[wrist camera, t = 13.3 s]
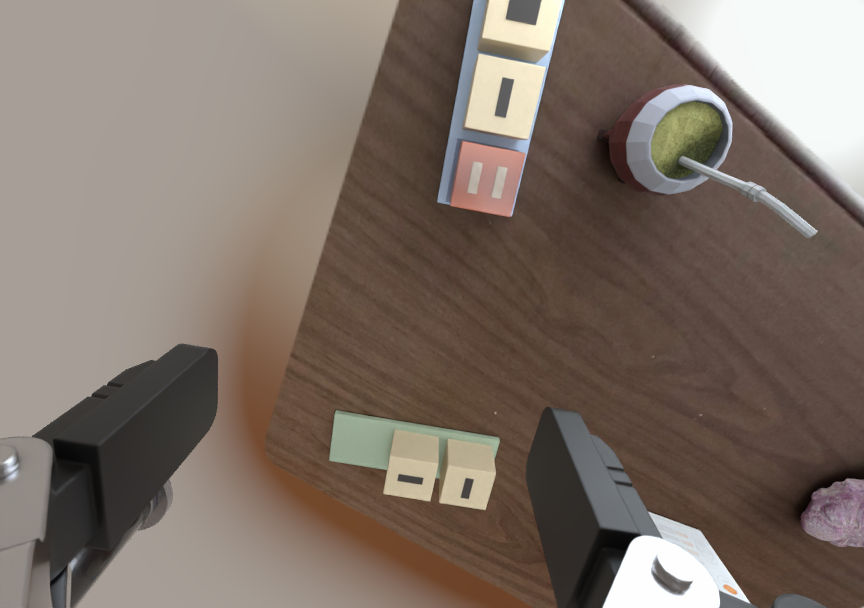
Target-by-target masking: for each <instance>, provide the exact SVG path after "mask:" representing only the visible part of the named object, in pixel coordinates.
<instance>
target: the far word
mask: <svg viewBox="0 0 864 608" xmlns="http://www.w3.org/2000/svg"><path fill="white" fill-rule="evenodd" d="M499 442H500V440H499V437H493V436H487V435H481V434H475V433H469V432H463V431H457V430H451V429H445V428H439V427H433V426H427V425H421V424H415V423H409V422H403V421H397V420H391V419H385V418H379V417H373V416H367V415H361V414H355V413H349V412H343V411H337V410H336V412H335V416H334V424H333V433H332V441H331V449H330V457H329V461H334V462H340V463H347V464H353V465H359V466H365V467H371V468H378V469H384V470H387V474H386V480H385V486H384V492H383V494H388V495H394V496H400V497H406V498H413V499H419V500H425V501H430V499H431V494H432V490H433V486H434V482H435V478H439V503H445V504H451V505H457V506H463V507H470V508H476V509H482V510H485V509H486V506H487V502H488V499H489V496H490V492H491V489H492V485H493V482H494V479H495V475H496V470H495V464H494V459H495V456H496V452H497V449H498V445H499Z"/></svg>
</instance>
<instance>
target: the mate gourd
mask: <svg viewBox="0 0 864 608" xmlns="http://www.w3.org/2000/svg"><path fill="white" fill-rule="evenodd" d="M597 139H598V140H600V141H603V142H608V143H609V149H610V159H611V162H612V164H613V166H614V168H615V170H616V172H617V174H618V176H619V179H618V180H619V181H620V182H621V183H625V184H628V185H629V186H630V187H631V188H633V189H634V190H636V191H638V192H643V193H649V194H654V195H662V196H663V195H668V194H674V193H679V192H684V191H689V190H691V189H692V188H694V187H696V186H697V185H699V184H701V183H702V182H704V181H706V180H707V179H709V178H710V179H713V180H715V181H717V182H720V183H722V184H724V185H726V186H729V187H731V188H733V189H735V190H737V191H740V194H741V195H743V196H745V197H747V198H749V199H751V200H753V201H755V202H756V201H760V202H762V203H763V204H765V205H766V206H767V207H769V208H770V209H772V210H773V211H774V212H776V213H777V214H778V215H779V216H781V217H782V218H783V219H784V220H786V221H787V222H788V223H789V224H791V225H792V226H793V227H794V228H795V229H797V230H798V231H799V232H800V233H802V234H803V235H804V236H805V237H807V238H809V237H811V236H813V235H815V234H816V233H817V230H816V229H814V228H813V227H812V226H811V225H809V224H808V223H807V222H806V221H805V220H803V219H802V218H801V217H800V216H798V215H797V214H796V213H795V212H793V211H792V210H791V209H790V208H788V207H787V206H786V205H785V204H783V203H782V202H780V201H779V200H777V199H776V198H775V197H773V196H772V195H770V194H769V193H767V192H766V191H767V190H766V189H765V188H763V187H761V186H759V185H757V184H754V183H752V182H748V183H746V182H744V181H741V180H739V179H736V178H734V177H731V176H729V175H726V174H724V173H722V172H719V171H717V170H716V169H717V168H718V167H719V166H720V165H721V164H722V162H723V161H724V160H725V157H726V155H727V152H728V150H729V147H730V145H731V142H732V120H731V117H730V115H729V112H728V110H727V108H726V105H725V103H724V102H723V101H722V100H721V99H720V98H719V97H717V96H716V95H715V94H714V93H713V92H712V91H710V90H709V89H705V88H700V87H696V86H691V85H685V84H675V85H671V86H666V87H662V88H657V89H654V90H652V91H650V92H648V93H646V94H645V95H643V96H642V97H640V98H639V99H638V100H636V101H635V102H633V103H632V104H630V105H629V107H628V108H627V109H626V110H625V112H624V113H623V114H622V115H621V116H620V118H619V119H618V120H617V121H616V123H615V125H614V126H613V128H612V129H611V130H609V131H607V130H600V131H599V134H598V137H597Z"/></svg>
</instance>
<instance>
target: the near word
mask: <svg viewBox="0 0 864 608" xmlns="http://www.w3.org/2000/svg"><path fill="white" fill-rule="evenodd" d="M564 1H565V0H474V1H473V6H472V12H471V17H470V23H469V28H468V34H467V39H466V45H465V50H464V56H463V61H462V67H461V72H460V78H459V83H458V89H457V94H456V100H455V105H454V111H453V116H452V122H451V127H450V133H449V138H448V144H447V149H446V155H445V160H444V166H443V171H442V177H441V182H440V187H439V193H438V198H437V202H438V203H443V204H448V205H450V201H449V198H450V193H451V187H452V182H453V177H454V172H455V166H456V161H457V156H458V151H459V145H460V142H461V141H466V142H471V143H476V144H481V145H486V146H491V147H497V148H502V149H507V150H512V151H517V152H522V153H526V155H525V159H524V163H523V168H522V172H521V176H520V180H519V184H518V188H517V192H516V196H515V200H514V205H515V201H516V197H517V193H518V189H519V185H520V181H521V177H522V173H523V169H524V164H525V160H526V156H527V152H528V148H529V144H530V140H531V136H532V132H533V128H534V124H535V120H536V115H537V111H538V107H539V103H540V99H541V95H542V91H543V87H544V83H545V79H546V75H547V70H548V66H549V62H550V58H551V54H552V50H553V46H554V42H555V38H556V34H557V30H558V26H559V21H560V17H561V13H562V9H563V5H564ZM514 205H513V209H514ZM513 209H512V213H513ZM512 213H511V216H512Z"/></svg>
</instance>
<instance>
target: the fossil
mask: <svg viewBox="0 0 864 608" xmlns="http://www.w3.org/2000/svg"><path fill="white" fill-rule="evenodd" d="M811 498H812V500H811V502H810V503H809V505H808V507H807V508H806V510H805V511H804V512H803V513H802V514H801V525H802V528H803V530H804V531H805V532H806V533H808V534H809V535H811V536H814V537H816V538H818V539H820V540H826V541H829V542H830V543H831V544H834V545H836V546H840V547H846V546H854V547H864V479H863V480H858V479H848V478H847V479H846V480H845V481H843V482H835V483H833V484H832V486H831V487H828V488H819V489H818V490H817V491H815V492H813V494H812V497H811Z"/></svg>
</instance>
